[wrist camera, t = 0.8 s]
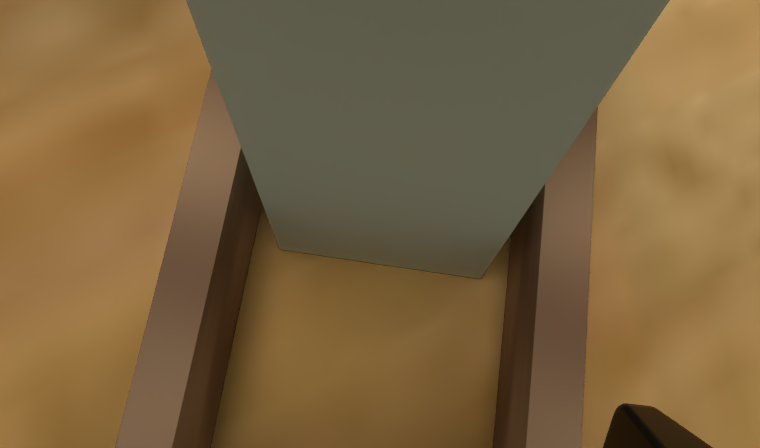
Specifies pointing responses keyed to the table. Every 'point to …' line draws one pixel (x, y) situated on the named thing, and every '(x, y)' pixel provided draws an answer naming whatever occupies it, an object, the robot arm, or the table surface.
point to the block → (411, 114)
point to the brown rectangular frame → (229, 270)
